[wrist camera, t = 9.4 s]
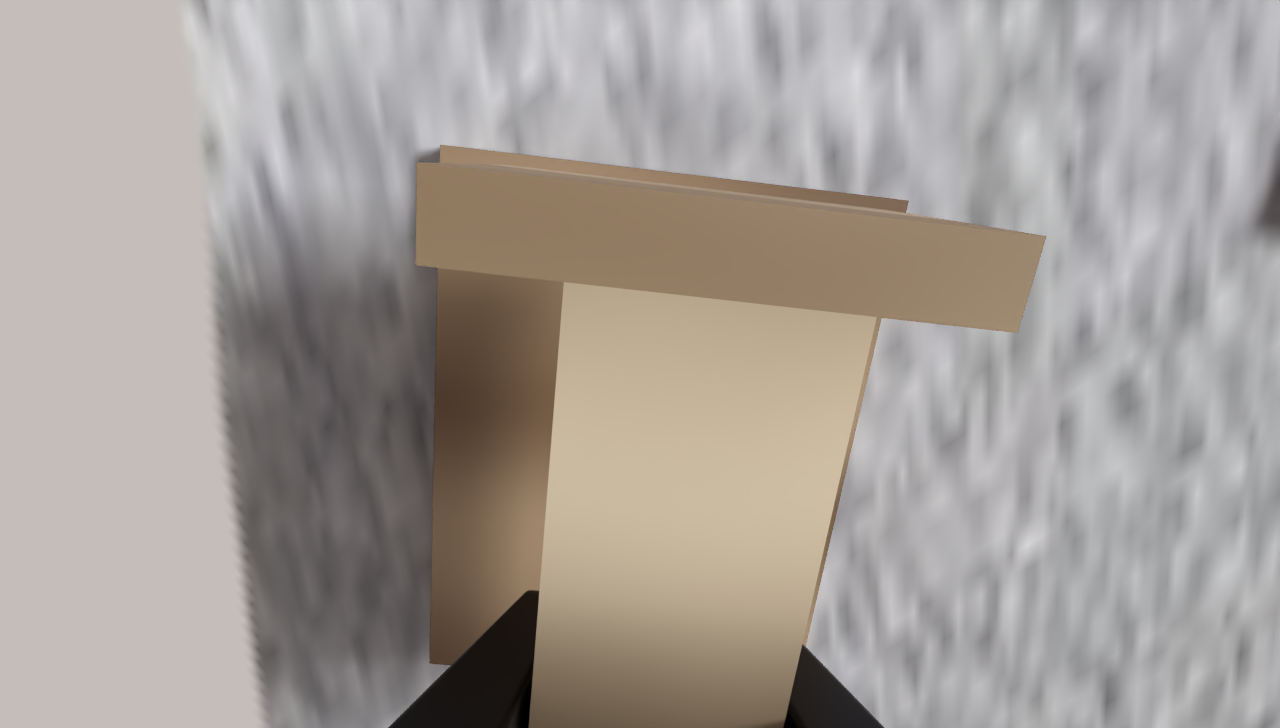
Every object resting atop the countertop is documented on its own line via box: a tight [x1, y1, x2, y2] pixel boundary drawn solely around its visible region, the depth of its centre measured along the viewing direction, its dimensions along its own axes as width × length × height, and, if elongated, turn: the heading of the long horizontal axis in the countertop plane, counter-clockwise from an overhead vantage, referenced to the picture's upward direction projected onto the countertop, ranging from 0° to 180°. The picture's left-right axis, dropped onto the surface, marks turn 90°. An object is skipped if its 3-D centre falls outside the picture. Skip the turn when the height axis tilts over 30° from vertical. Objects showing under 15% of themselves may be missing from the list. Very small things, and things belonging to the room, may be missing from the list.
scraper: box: [416, 162, 1046, 728], centre depth 8 cm, size 11×5×4 cm, turn 174°
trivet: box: [430, 145, 909, 665], centre depth 14 cm, size 12×9×1 cm
